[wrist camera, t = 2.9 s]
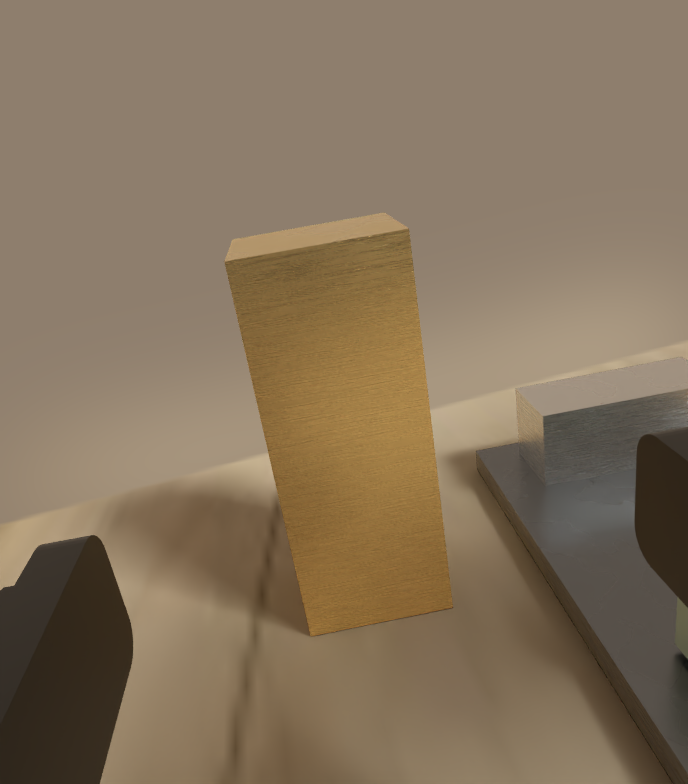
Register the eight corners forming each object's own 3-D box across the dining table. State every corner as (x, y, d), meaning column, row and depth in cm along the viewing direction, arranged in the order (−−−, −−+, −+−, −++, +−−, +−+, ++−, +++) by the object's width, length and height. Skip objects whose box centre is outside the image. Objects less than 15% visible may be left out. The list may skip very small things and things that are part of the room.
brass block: (452, 607, 22) (408, 228, 17) (310, 636, 22) (224, 261, 17) (426, 540, 26) (384, 212, 21) (304, 564, 25) (232, 239, 21)
